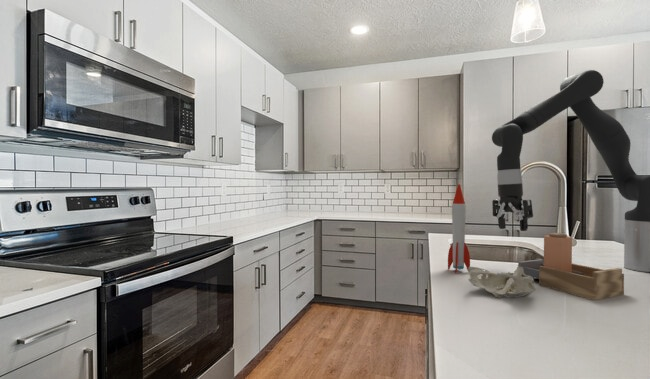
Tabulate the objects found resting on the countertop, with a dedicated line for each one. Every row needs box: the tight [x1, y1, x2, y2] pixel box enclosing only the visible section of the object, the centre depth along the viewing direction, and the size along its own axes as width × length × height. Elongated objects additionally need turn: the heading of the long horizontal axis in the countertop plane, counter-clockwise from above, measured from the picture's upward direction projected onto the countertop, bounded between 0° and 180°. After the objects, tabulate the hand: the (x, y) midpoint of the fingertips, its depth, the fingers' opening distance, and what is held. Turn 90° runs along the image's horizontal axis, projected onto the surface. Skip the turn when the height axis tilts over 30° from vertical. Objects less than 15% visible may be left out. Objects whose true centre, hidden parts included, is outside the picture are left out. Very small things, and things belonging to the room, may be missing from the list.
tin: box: [543, 232, 573, 273], centre depth 100 cm, size 5×5×13 cm
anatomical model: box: [467, 265, 537, 299], centre depth 91 cm, size 15×9×25 cm
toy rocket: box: [447, 183, 471, 274], centre depth 115 cm, size 6×6×30 cm
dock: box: [538, 263, 625, 301], centre depth 95 cm, size 13×14×7 cm
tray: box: [517, 258, 583, 280], centre depth 103 cm, size 10×13×4 cm
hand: (512, 229), depth 115 cm, fingers open, 8 cm apart
